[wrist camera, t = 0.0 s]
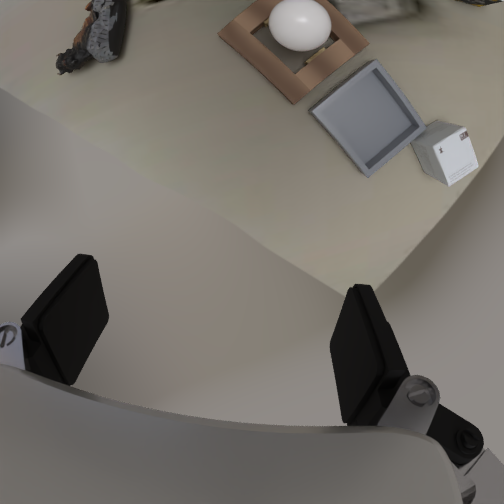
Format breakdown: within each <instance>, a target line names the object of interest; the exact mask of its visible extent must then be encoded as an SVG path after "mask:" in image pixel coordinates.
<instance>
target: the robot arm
mask: <svg viewBox="0 0 504 504" xmlns="http://www.w3.org/2000/svg"><path fill="white" fill-rule="evenodd" d="M108 319H109V313H108V309H107V305H106V301H105V297H104V292H103V287H102V283H101V278H100V274H99V269H98V263H97V261H96V260H94V258H93V256H92V255H86V254H78V255H76V256H75V258H73V260H72V261H71V262H70V263H69V264H68V265H67V266H66V267H65V268H64V269H63V270H62V271H61V273H59V275H58V276H57V277H56V278H55V279H54V280H53V281H52V282H51V284H50V285H49V286H48V287H47V288H46V289H45V290H44V291H43V293H42V294H41V295H40V296H39V297H38V298H37V300H36V301H35V302H34V303H33V305H32V306H31V307H30V308H29V309H28V310H27V312H26V313H25V314H24V316H23V317H22V318H21V321H22V326H21V327H20V326H19V325H18V324H16V323H14V322H6V323H3V324H0V504H504V465H503V464H502V463H501V462H500V461H499V460H498V458H497V457H496V456H495V455H494V454H493V453H492V452H491V451H490V450H489V448H487V449H486V450H484V449H483V445H484V441H483V436H482V434H481V432H480V431H479V429H478V428H477V427H476V426H474V425H473V424H471V423H470V422H468V421H466V420H465V419H463V418H462V417H460V416H458V415H457V414H455V413H454V412H452V411H450V410H449V409H447V408H445V407H444V406H442V405H441V404H439V400H440V393H439V390H438V388H437V386H436V385H435V384H434V383H433V382H432V381H431V380H430V379H428V378H426V377H424V376H420V375H413V376H410V373H409V371H408V368H407V365H406V363H405V360H404V358H403V355H402V353H401V350H400V348H399V345H398V343H397V340H396V338H395V335H394V333H393V331H392V328H391V326H390V324H389V323H388V322H387V321H386V319H385V316H384V314H383V312H382V309H381V307H380V305H379V302H378V300H377V298H376V296H375V294H374V291H373V289H372V287H371V285H364V284H355V285H354V286H353V288H352V287H350V288H349V289H348V291H347V294H346V297H345V300H344V304H343V306H342V310H341V313H340V315H339V318H338V321H337V324H336V327H335V330H334V332H333V335H332V338H331V341H330V353H331V358H332V363H333V369H334V374H335V380H336V386H337V392H338V398H339V404H340V410H341V416H342V421H343V423H347V426H285V425H266V424H252V423H241V422H231V421H222V420H214V419H207V418H200V417H194V416H187V415H181V414H176V413H171V412H165V411H160V410H155V409H150V408H146V407H142V406H137V405H133V404H129V403H125V402H121V401H117V400H114V399H110V398H106V397H102V396H99V395H95V394H92V393H89V392H86V391H83V390H79V389H76V388H74V387H71V386H70V385H73V384H74V383H75V381H76V380H77V378H78V375H79V374H80V372H81V370H82V368H83V366H84V364H85V362H86V360H87V358H88V357H89V355H90V353H91V351H92V349H93V347H94V346H95V344H96V342H97V340H98V338H99V337H100V335H101V333H102V331H103V330H104V328H105V326H106V324H107V322H108Z"/></svg>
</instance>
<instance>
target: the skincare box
mask: <svg viewBox="0 0 504 504" xmlns="http://www.w3.org/2000/svg"><path fill="white" fill-rule="evenodd" d="M426 128H427V129H425V130H424V131H423V132H422V133H421V134H420V135H418V136H417V137H416V138H415V139H414V140H413V141H411V144H412V146H413V149H414V151H415V153H416V155H417V157H418V159H419V162H420V164H421V166H422V168H423V171H424V172H425V173H426V174H428V175H430V176H432V177H433V178H435V179H437V180H439V181H440V182H442V183H444V184H445V185H447V186H450V185H452V184H454V183H455V182H457V181H458V180H460V179H461V178H463V177H464V176H466V175H467V174H469V173H470V172H472V171H473V170H475V169H476V168H478V162H477V159H476V156H475V153H474V150H473V147H472V144H471V141H470V138H469V136H468V133H467V130H466V128H465V127H463V126H459V125H455V124H451V123H446V122H442V121H438V120H437V121H435V122H433V123H431V124H430V125H428V126H426Z"/></svg>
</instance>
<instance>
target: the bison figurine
mask: <svg viewBox="0 0 504 504" xmlns="http://www.w3.org/2000/svg"><path fill="white" fill-rule="evenodd" d="M126 8H127V4H126V0H92V1H91V2H90V3H89V4H88V5H87V6H86V8H85V10H87V11H91V13H90V15H89V17H88V18H86V20H85V22H84V23H83V26H82V29H81V31H80V32H79V33H78V34H77V36H76V37H75V38H74V42H73V48H72V49H67V50H66V52H65V53H60V54H58V55H57V56H58V59H57V62H56V68H57V69H59V71H60V73H57V75H62V74H64V73H65V72H68V73H72V72H73V70H74V69H80V68H81V67H82V66H83V64H84V63H85V62H86V61H87V60H90V59H92V58H95V59H97V60H98V62H101V63H103V62H108V61H111V60H113V59H115V58H117V57H118V55H119V52H120V48H121V44H122V39H123V34H124V27H125V20H126Z"/></svg>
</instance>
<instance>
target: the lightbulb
mask: <svg viewBox="0 0 504 504" xmlns="http://www.w3.org/2000/svg"><path fill="white" fill-rule="evenodd" d="M331 27H332V25H331V19H330V16H329V14H328V12H327V11H326V10H325V8H324V7H323V6H322V5H320V4H319V3H318V2H316V1H314V0H283V1H281V2H279V3H278V4H277V5H276V6H275V7H274V8H273V9H272V11H271V13H270V16H269V29H270V32H271V34H272V36H273V37H274V39H275V40H276V41H277V42H278V43H279V44H281V45H282V46H284V47H286V48H288V49H291V50H294V51H310V50H313V49H316V48H318V47H320V46H321V45H322V44H324V43H325V42H326V40H327V39H328V37H329V35H330V33H331Z"/></svg>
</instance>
